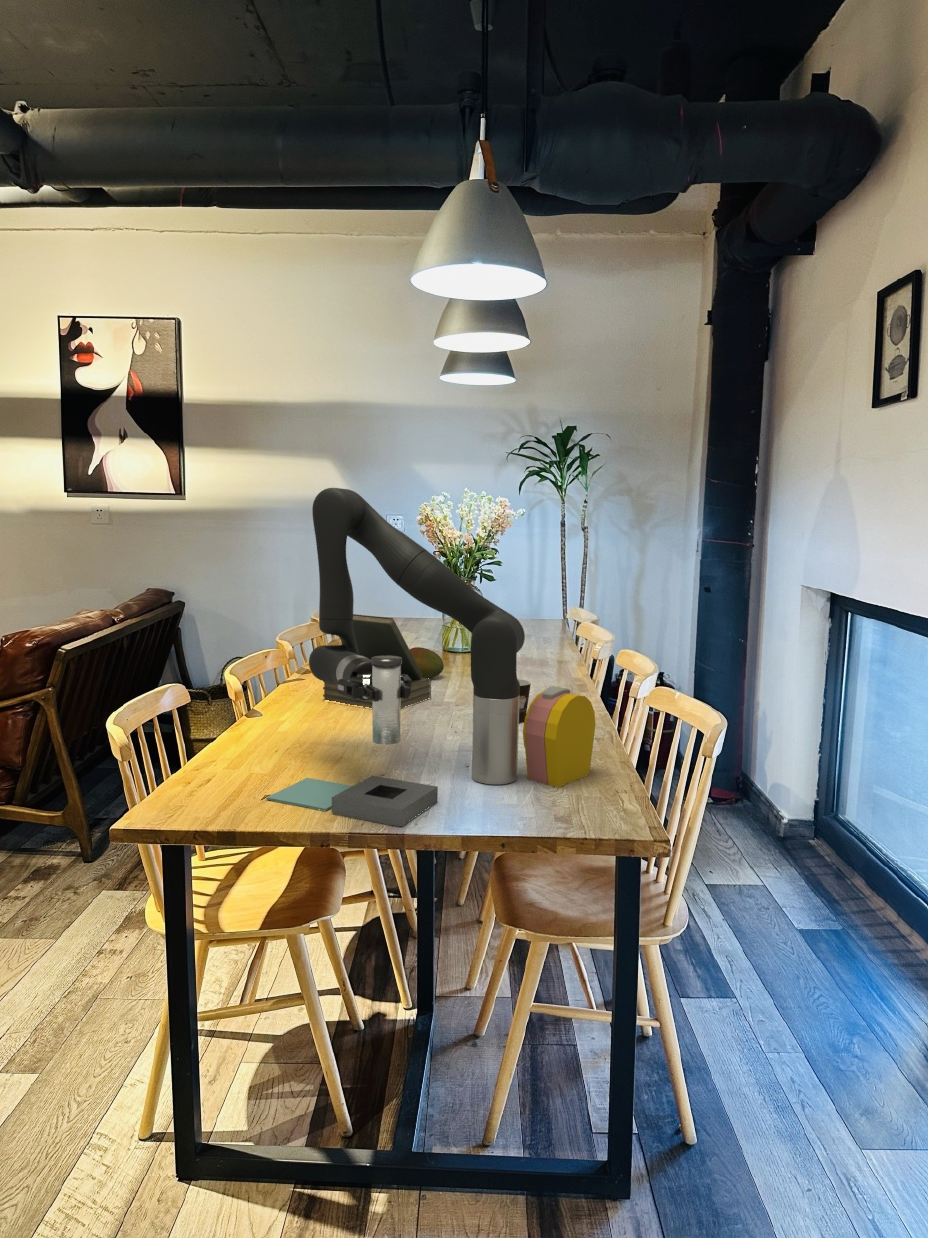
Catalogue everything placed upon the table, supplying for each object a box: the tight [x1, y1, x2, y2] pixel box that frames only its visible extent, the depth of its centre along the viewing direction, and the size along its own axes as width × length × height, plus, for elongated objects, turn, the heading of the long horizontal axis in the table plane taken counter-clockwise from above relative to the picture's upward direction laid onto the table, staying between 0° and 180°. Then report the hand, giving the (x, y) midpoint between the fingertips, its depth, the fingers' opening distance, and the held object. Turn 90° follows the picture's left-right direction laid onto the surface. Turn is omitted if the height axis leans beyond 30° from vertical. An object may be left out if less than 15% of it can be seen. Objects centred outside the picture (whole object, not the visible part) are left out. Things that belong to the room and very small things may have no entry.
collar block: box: [331, 775, 439, 827], centre depth 156 cm, size 14×14×3 cm
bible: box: [322, 613, 432, 709], centre depth 239 cm, size 23×20×25 cm
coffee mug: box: [517, 678, 532, 724], centre depth 220 cm, size 12×9×10 cm
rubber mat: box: [265, 777, 353, 812], centre depth 162 cm, size 13×13×1 cm
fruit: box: [409, 646, 445, 679], centre depth 271 cm, size 12×13×10 cm
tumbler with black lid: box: [371, 656, 402, 746], centre depth 153 cm, size 5×5×15 cm
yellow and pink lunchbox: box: [522, 685, 596, 788], centre depth 175 cm, size 15×8×18 cm, turn 141°
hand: (392, 694), depth 151 cm, fingers closed on tumbler with black lid, 5 cm apart
